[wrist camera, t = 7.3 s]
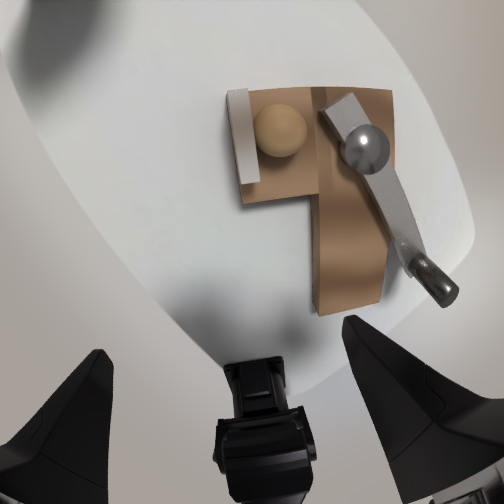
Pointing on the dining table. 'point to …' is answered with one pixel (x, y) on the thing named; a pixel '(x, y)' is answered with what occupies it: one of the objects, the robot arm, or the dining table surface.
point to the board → (316, 183)
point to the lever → (385, 192)
